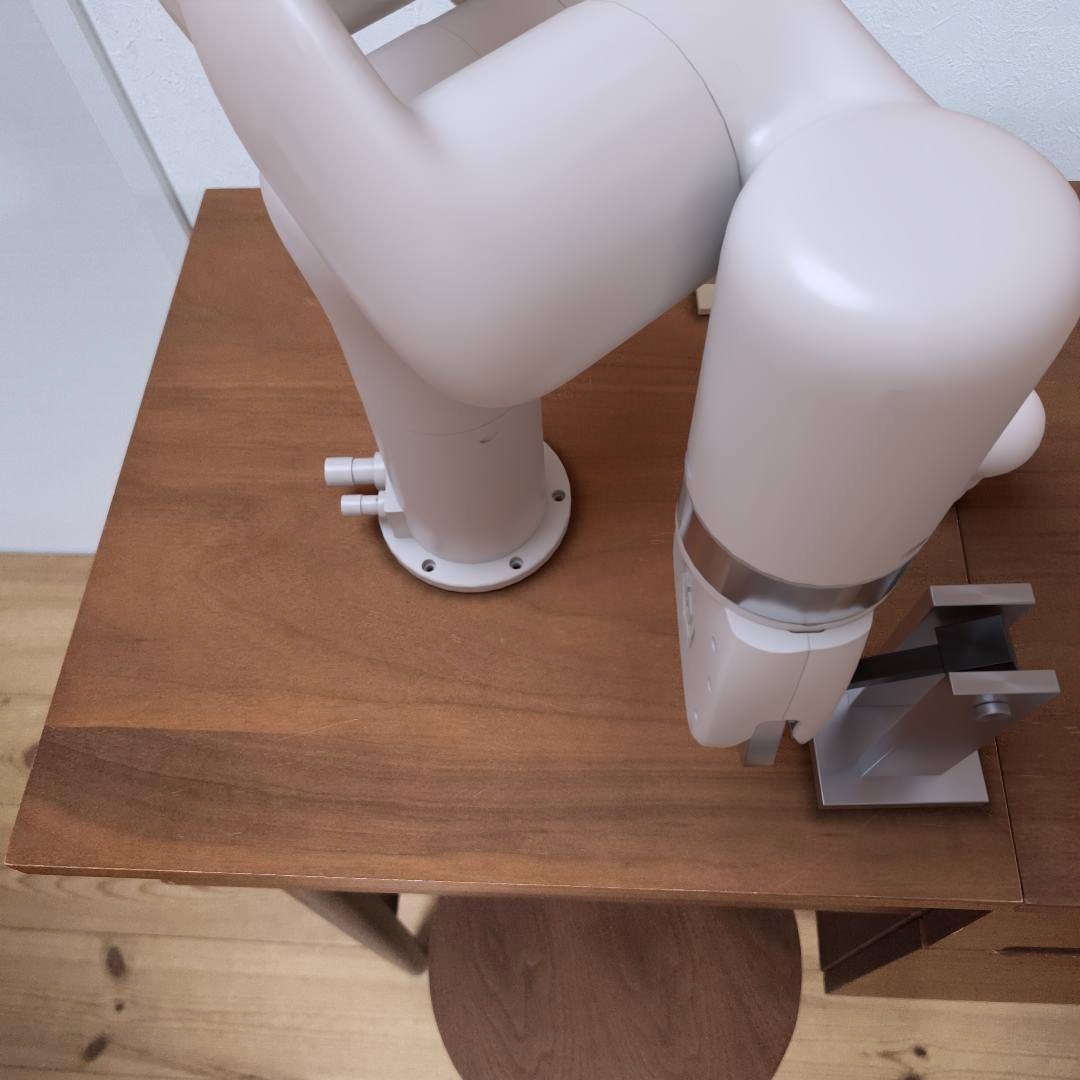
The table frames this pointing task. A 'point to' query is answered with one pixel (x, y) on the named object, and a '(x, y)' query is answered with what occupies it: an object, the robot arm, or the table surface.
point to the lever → (944, 654)
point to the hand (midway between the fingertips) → (723, 689)
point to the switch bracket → (927, 715)
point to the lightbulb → (1013, 442)
